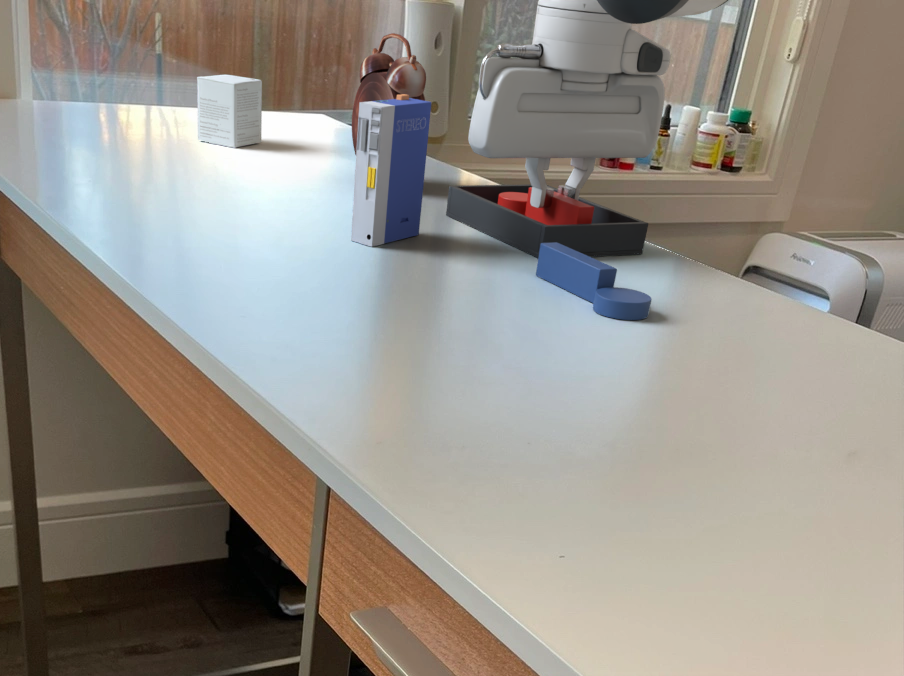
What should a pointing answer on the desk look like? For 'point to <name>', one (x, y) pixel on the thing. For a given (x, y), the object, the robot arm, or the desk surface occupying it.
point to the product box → (229, 110)
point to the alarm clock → (388, 79)
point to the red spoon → (557, 214)
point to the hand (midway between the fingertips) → (553, 206)
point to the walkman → (389, 169)
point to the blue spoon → (591, 282)
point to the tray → (596, 239)
